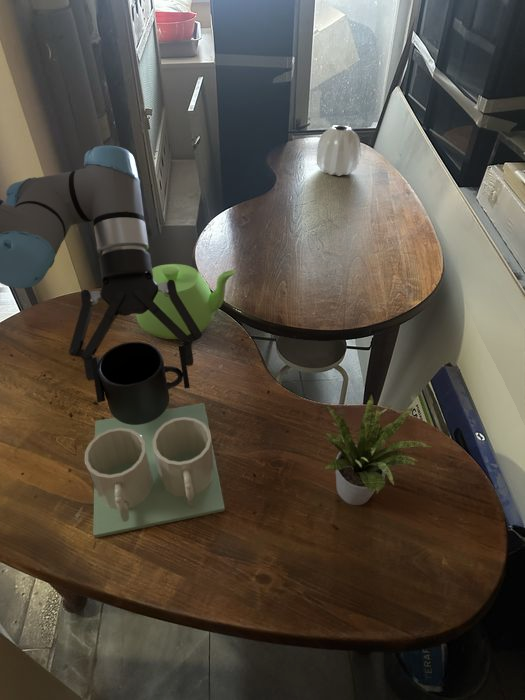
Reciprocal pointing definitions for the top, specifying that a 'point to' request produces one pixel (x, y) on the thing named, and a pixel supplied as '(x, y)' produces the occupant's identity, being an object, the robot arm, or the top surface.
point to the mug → (136, 382)
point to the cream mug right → (180, 440)
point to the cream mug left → (111, 453)
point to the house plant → (367, 455)
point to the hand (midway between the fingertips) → (145, 394)
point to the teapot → (184, 299)
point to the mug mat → (156, 483)
